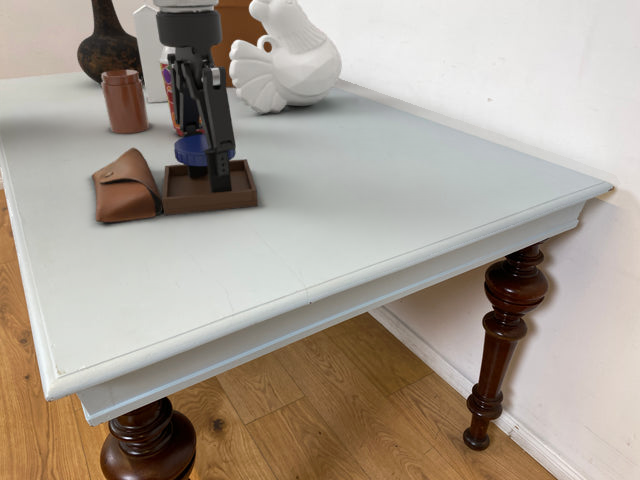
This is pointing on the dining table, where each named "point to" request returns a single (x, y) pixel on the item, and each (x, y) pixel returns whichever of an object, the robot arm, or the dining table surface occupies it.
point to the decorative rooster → (284, 60)
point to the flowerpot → (236, 32)
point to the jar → (124, 101)
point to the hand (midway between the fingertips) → (209, 185)
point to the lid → (194, 150)
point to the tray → (206, 190)
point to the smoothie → (167, 83)
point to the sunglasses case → (126, 190)
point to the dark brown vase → (108, 45)
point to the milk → (150, 52)
